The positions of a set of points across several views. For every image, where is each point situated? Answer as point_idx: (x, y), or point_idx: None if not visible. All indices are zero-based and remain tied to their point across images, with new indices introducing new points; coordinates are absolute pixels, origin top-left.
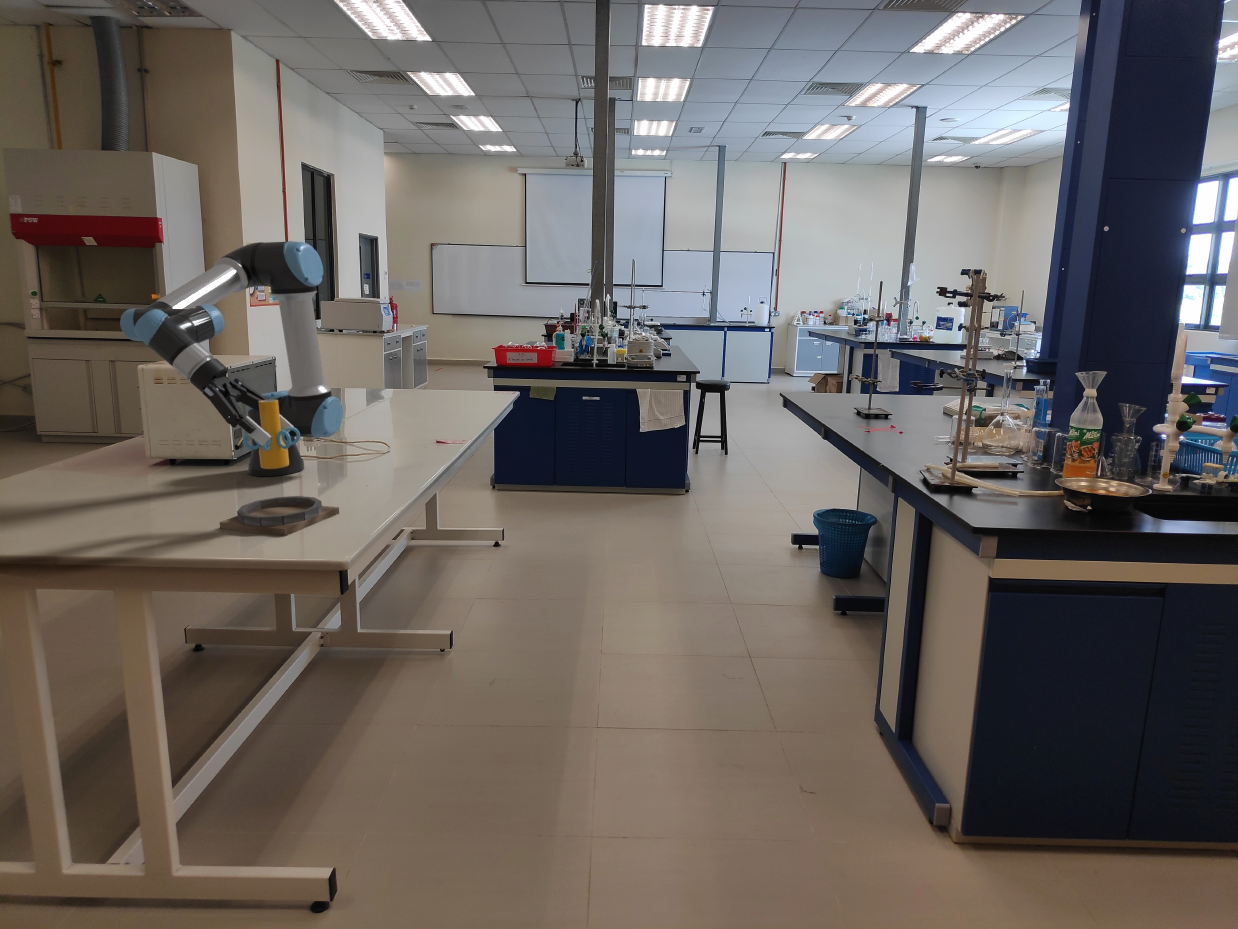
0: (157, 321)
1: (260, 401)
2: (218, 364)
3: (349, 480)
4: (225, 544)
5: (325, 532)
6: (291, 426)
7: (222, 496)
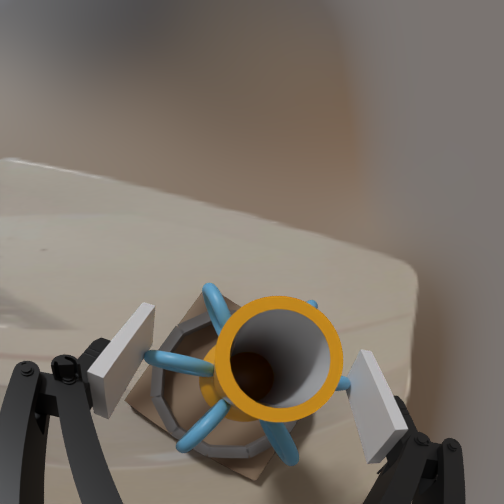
0: None
1: (302, 404)
2: None
3: (4, 277)
4: (347, 439)
5: (316, 301)
6: (153, 309)
7: None
